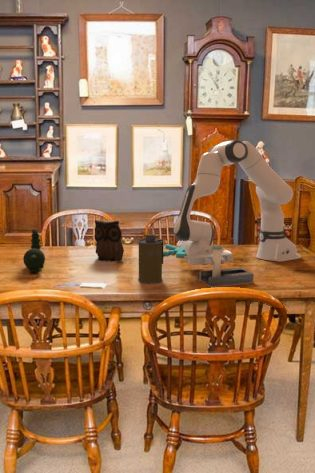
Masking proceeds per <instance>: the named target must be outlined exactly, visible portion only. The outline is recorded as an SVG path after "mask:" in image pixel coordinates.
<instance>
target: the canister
mask: <svg viewBox="0 0 315 473" xmlns="http://www.w3.org/2000/svg"><path fill="white" fill-rule="evenodd" d="M143 237H144V238H141V239H139V240H137V243H138V278H137V281H139V282H140V283H142V284H143V283H144V284H150V283H152V284H159V283H162V281H163V265H164V256H163V252H164V239H163V238H157V237H156V235H155V234H153V233H148V234H144V235H143Z"/></svg>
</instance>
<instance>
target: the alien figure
mask: <svg viewBox="0 0 315 473" xmlns="http://www.w3.org/2000/svg"><path fill="white" fill-rule="evenodd" d="M164 247H165V249H168V250H165V251H164V250H163V257H164V256H170V255H169V254H172V255H173V256H174V254H175V257H176V258H184V256H186V255H187V254H186V253H185V250H184V244H182V245H181V246H180V247H178V246H174V245H173V244H172V245H171V244H170V243H169V244H168V243H166V244H165V246H164ZM171 249H172V250H171ZM172 255H171V256H172Z"/></svg>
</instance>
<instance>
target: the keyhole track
mask: <svg viewBox="0 0 315 473" xmlns="http://www.w3.org/2000/svg"><path fill="white" fill-rule="evenodd" d="M198 280H199V281H201V282H202V283H203V284H205V285H206V286H208V287H209V288H210V287H212V288H218V287H217V286H222V287H229V286H239V285H240V286H241V285H247V284H248V285H249V284H254V283H255V282H254V273H253V272H250V271H249V270H247V269H245V268H244V267H241V266H239V267H233V268H232V267H231V268H221V276H216V277H212V269H209V270H208V269H207V270H200V271H199V279H198Z"/></svg>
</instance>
